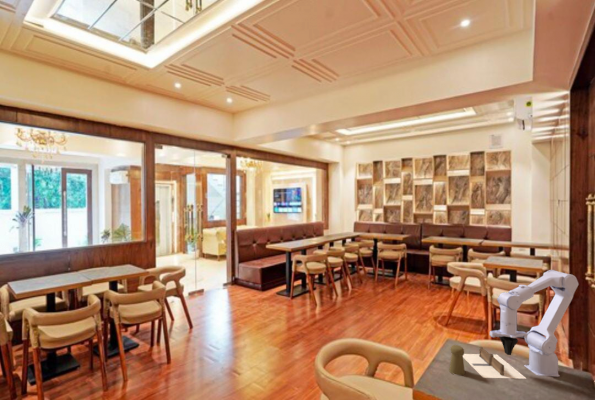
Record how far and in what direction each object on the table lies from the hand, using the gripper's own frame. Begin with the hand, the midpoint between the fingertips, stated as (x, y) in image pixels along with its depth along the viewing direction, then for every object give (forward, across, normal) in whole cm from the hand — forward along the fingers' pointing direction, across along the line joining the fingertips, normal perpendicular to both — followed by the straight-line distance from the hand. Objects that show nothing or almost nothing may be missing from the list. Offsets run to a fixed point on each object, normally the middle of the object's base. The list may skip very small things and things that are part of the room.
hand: (507, 353), depth 132 cm
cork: (+8, -22, 0) cm, 23 cm away
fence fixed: (+7, -4, +9) cm, 12 cm away
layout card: (+8, -4, +5) cm, 10 cm away
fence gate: (+7, -4, 0) cm, 8 cm away
